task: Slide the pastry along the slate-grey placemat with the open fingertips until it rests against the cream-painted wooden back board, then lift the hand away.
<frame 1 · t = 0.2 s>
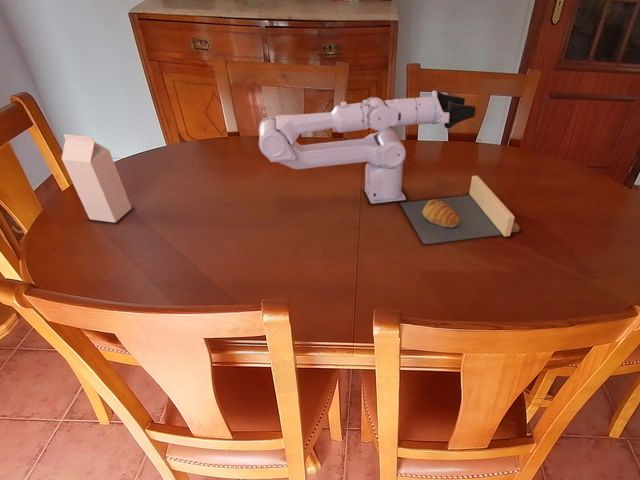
hand: (469, 107, 112), 21 cm above the table, tool horizontal, fingers open, 7 cm apart
milk carton: (111, 215, 116), on the table
pastry: (439, 219, 116), resting on placemat
back board: (488, 213, 118), on the table
placemat: (448, 218, 116), on the table
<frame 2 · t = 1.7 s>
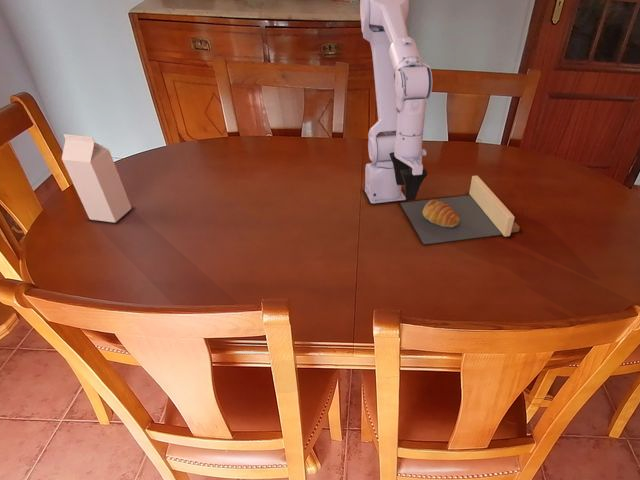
hand: (405, 191, 108), 8 cm above the table, tool pointing down, fingers open, 7 cm apart
nothing on the table moved.
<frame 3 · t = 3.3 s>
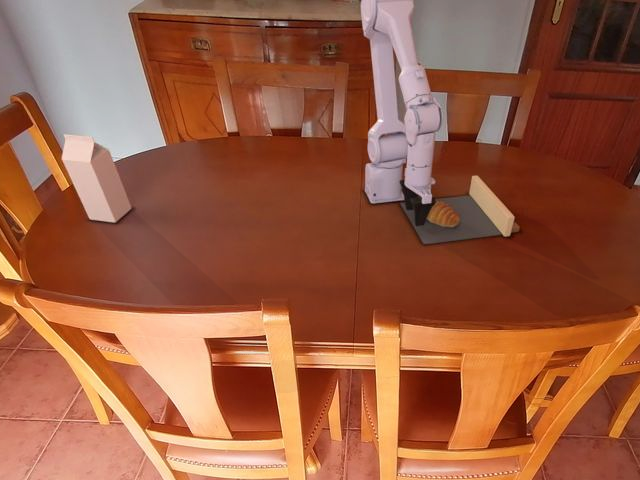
hand: (414, 217, 113), 1 cm above the table, tool pointing down, fingers open, 7 cm apart
nothing on the table moved.
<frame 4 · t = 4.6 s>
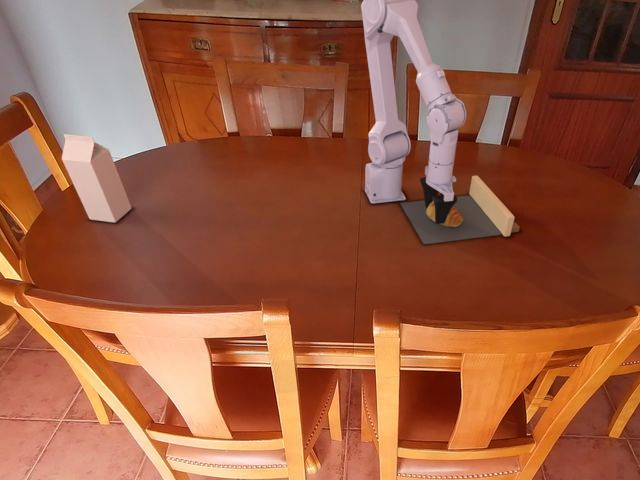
hand: (434, 214, 114), 1 cm above the table, tool pointing down
pastry: (443, 219, 116), resting on placemat, touching gripper
everything else where it was.
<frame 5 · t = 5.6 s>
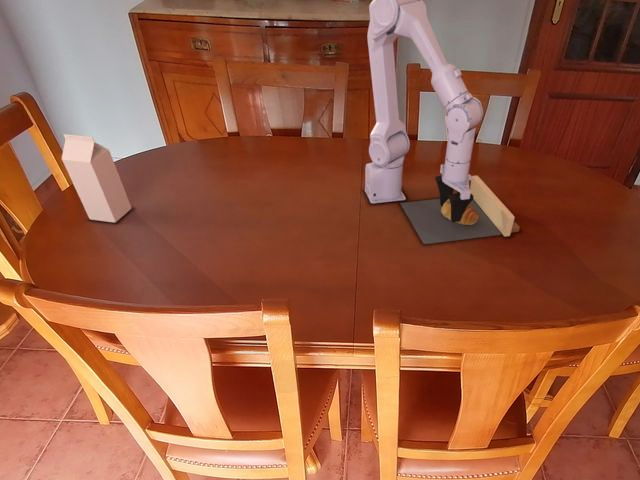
hand: (450, 213, 115), 1 cm above the table, tool pointing down
pastry: (458, 217, 116), resting on placemat, touching gripper
everything else where it was.
when the fingers open (1 cm above the table, at t = 6.4 s): pastry stays where it is, resting on placemat.
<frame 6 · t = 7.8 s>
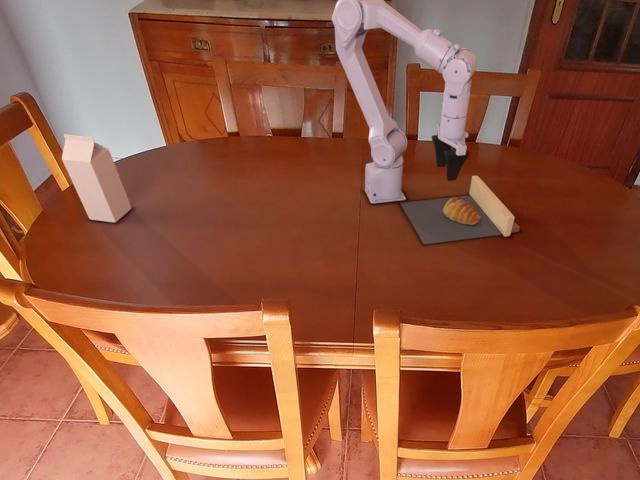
hand: (446, 173, 114), 9 cm above the table, tool pointing down, fingers open, 7 cm apart
pastry: (460, 217, 117), resting on placemat
everything else where it was.
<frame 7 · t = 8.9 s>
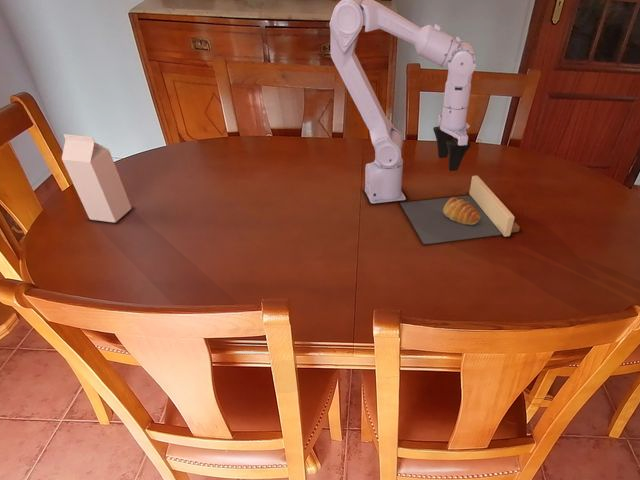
hand: (447, 163, 116), 9 cm above the table, tool pointing down, fingers open, 7 cm apart
nothing on the table moved.
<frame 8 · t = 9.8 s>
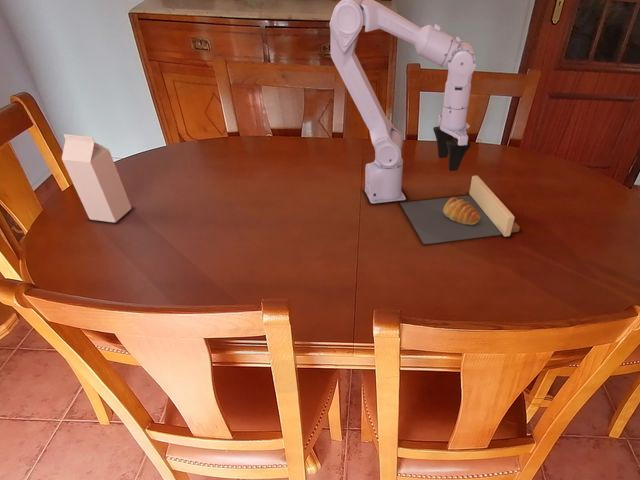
hand: (447, 163, 116), 9 cm above the table, tool pointing down, fingers open, 7 cm apart
nothing on the table moved.
at the end: pastry 1.7 cm from the target spot, resting on placemat; pastry tilted 0° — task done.
